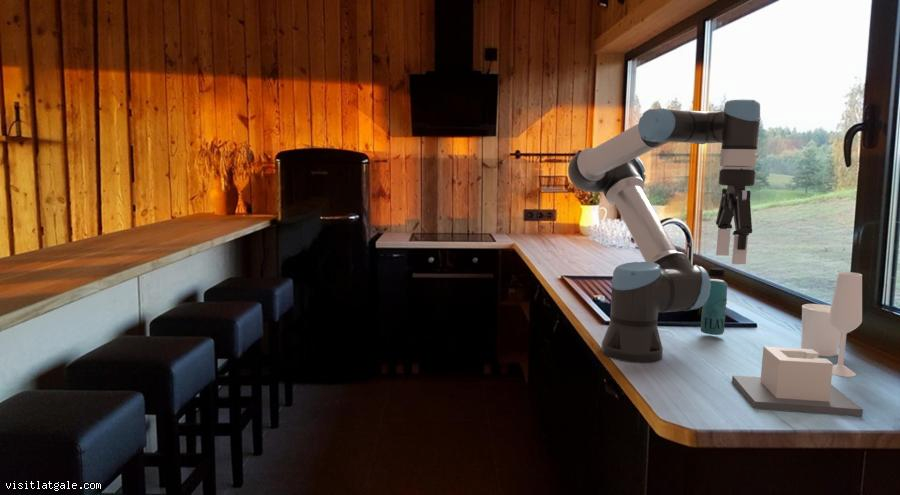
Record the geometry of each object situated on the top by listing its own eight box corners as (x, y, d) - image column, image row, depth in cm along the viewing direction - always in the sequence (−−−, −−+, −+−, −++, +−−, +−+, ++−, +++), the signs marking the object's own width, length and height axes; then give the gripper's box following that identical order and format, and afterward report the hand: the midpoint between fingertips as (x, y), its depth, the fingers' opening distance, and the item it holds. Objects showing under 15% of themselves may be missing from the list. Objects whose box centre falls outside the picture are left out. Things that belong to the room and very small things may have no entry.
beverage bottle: (699, 338, 178) (704, 269, 175) (699, 332, 184) (704, 265, 181) (724, 341, 175) (730, 270, 173) (723, 335, 182) (729, 267, 179)
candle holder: (846, 359, 161) (851, 313, 160) (805, 355, 163) (809, 310, 162) (831, 348, 171) (836, 305, 169) (792, 345, 173) (796, 302, 171)
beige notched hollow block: (776, 397, 129) (779, 360, 128) (760, 381, 138) (763, 346, 137) (829, 401, 127) (833, 363, 126) (809, 384, 137) (812, 349, 136)
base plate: (754, 408, 127) (757, 377, 126) (731, 381, 142) (734, 354, 141) (862, 416, 124) (865, 384, 123) (827, 388, 139) (830, 360, 138)
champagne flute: (843, 378, 146) (854, 276, 143) (817, 369, 152) (826, 271, 149) (862, 374, 149) (873, 275, 146) (835, 366, 155) (845, 270, 152)
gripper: (773, 169, 132) (764, 268, 135) (738, 168, 156) (731, 252, 159) (736, 168, 133) (728, 267, 136) (707, 167, 157) (700, 251, 160)
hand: (730, 259), depth 148 cm, fingers open, 13 cm apart
